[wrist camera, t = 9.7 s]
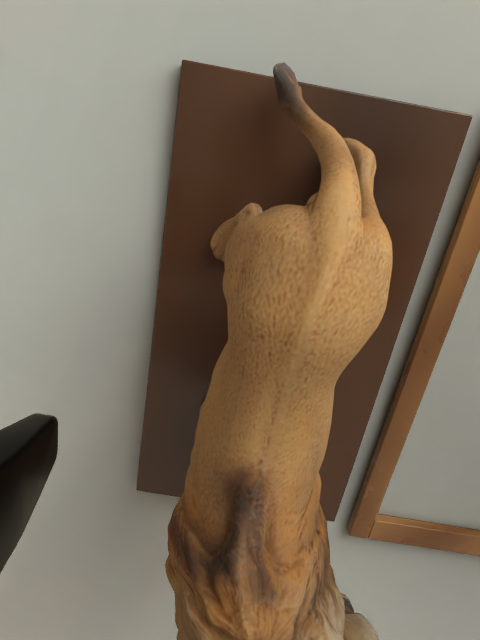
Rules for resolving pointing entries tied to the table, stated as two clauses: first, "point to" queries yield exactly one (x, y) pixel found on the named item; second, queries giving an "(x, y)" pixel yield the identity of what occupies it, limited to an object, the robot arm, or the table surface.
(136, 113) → the table surface
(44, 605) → the table surface
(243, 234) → the lion figurine
